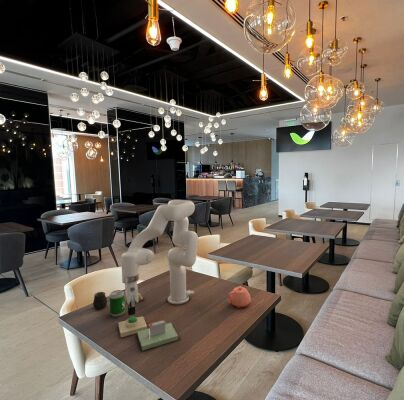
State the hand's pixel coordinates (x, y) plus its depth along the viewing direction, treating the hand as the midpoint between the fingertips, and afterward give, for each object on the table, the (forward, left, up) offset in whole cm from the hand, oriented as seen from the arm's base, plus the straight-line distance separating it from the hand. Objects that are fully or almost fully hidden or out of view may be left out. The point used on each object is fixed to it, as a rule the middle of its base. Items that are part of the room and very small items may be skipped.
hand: (131, 314), depth 129 cm
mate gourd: (+13, -30, -8) cm, 34 cm away
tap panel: (-9, +13, -8) cm, 17 cm away
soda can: (+5, -18, -8) cm, 20 cm away
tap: (-9, +13, -5) cm, 17 cm away
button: (0, 0, -4) cm, 4 cm away
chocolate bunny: (-6, -29, -8) cm, 31 cm away
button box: (0, 0, -8) cm, 8 cm away
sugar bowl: (-58, +4, -8) cm, 59 cm away
